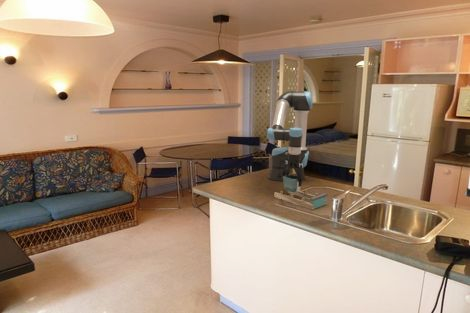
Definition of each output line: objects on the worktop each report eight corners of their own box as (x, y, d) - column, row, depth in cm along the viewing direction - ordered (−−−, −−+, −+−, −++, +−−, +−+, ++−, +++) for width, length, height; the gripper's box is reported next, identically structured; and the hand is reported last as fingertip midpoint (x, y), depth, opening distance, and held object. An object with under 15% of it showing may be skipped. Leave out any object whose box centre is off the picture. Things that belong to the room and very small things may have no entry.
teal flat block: (323, 203, 200) (324, 193, 198) (326, 204, 198) (327, 194, 197) (309, 208, 190) (309, 198, 188) (312, 209, 188) (312, 199, 187)
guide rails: (289, 192, 218) (289, 185, 217) (326, 204, 198) (327, 196, 197) (274, 197, 208) (274, 189, 207) (312, 209, 188) (312, 201, 187)
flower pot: (302, 191, 207) (303, 177, 205) (293, 194, 200) (294, 179, 199) (290, 187, 213) (291, 174, 211) (281, 190, 206) (282, 176, 205)
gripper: (276, 151, 207) (274, 186, 212) (305, 157, 192) (302, 194, 196) (284, 150, 212) (282, 184, 217) (313, 155, 197) (310, 192, 201)
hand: (292, 189), depth 206 cm, fingers closed on flower pot, 9 cm apart
